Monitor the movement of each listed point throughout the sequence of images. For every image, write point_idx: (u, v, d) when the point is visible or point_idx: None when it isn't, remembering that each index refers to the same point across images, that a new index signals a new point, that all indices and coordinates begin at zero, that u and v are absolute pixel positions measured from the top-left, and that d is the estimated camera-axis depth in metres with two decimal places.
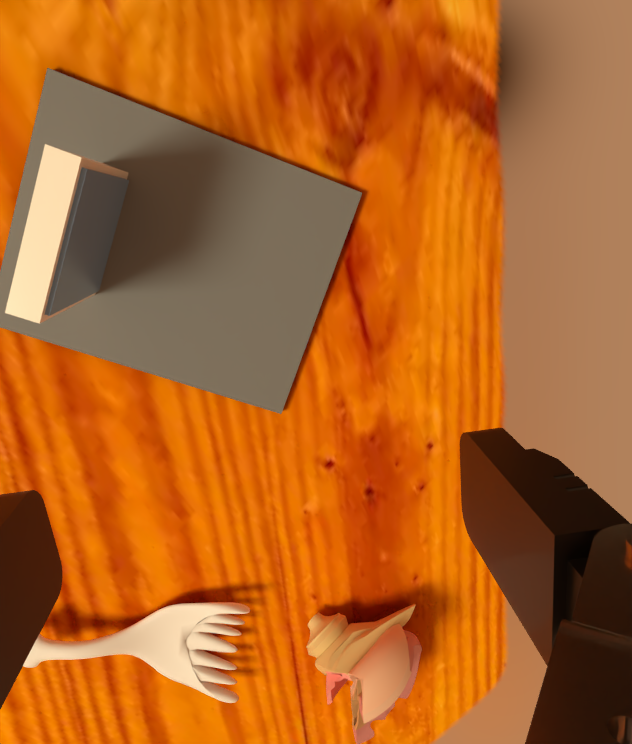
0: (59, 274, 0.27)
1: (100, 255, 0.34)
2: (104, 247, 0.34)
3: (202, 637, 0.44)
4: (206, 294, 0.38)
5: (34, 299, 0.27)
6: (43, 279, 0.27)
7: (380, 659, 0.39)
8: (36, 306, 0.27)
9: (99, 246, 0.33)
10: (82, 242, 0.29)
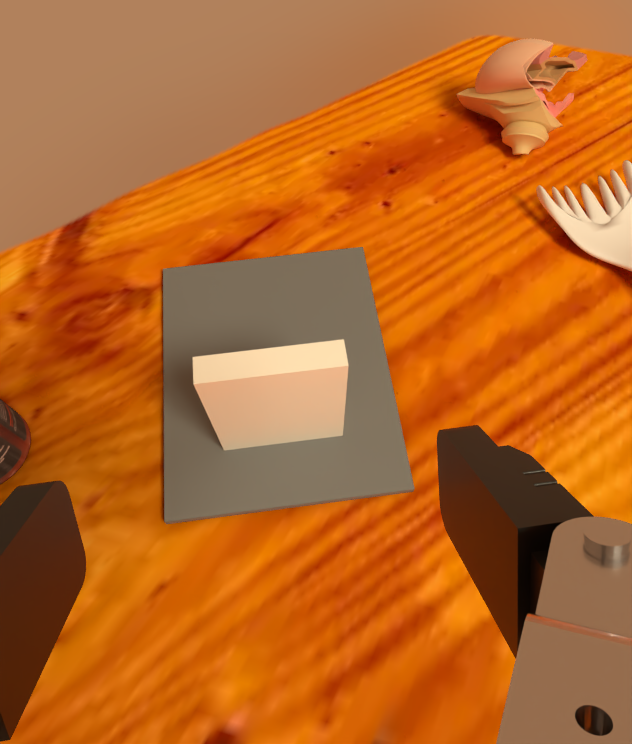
0: None
1: None
2: None
3: (591, 213, 0.46)
4: (294, 334, 0.42)
5: (325, 349, 0.30)
6: (304, 348, 0.30)
7: (500, 69, 0.46)
8: (330, 346, 0.30)
9: None
10: None
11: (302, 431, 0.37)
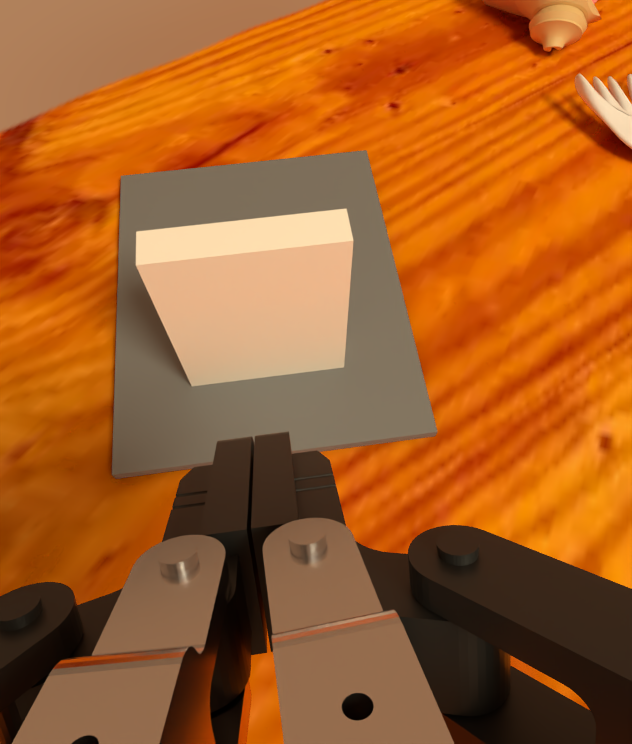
0: None
1: None
2: None
3: None
4: None
5: (320, 220, 0.21)
6: (292, 220, 0.21)
7: None
8: (327, 216, 0.22)
9: None
10: None
11: (292, 357, 0.28)
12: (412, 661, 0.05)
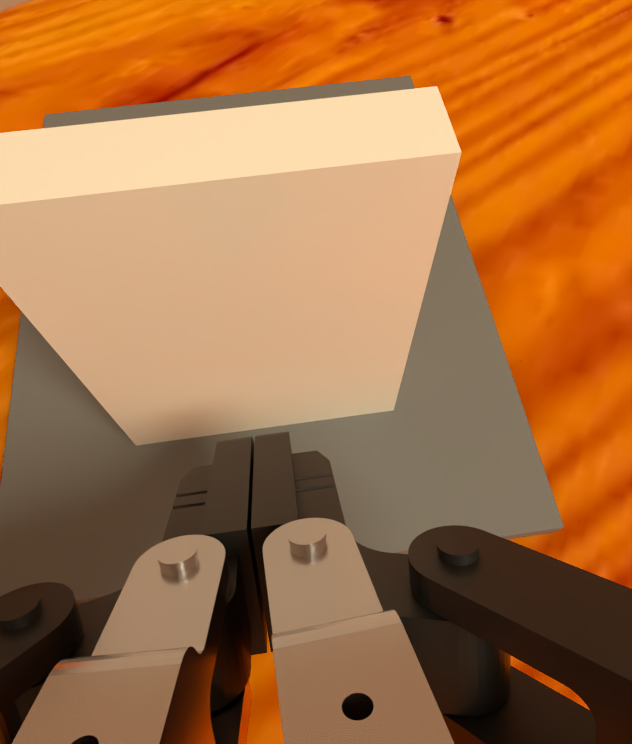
0: None
1: None
2: None
3: None
4: None
5: (380, 111, 0.09)
6: (315, 111, 0.09)
7: None
8: (396, 103, 0.09)
9: None
10: None
11: (307, 398, 0.16)
12: (412, 661, 0.05)
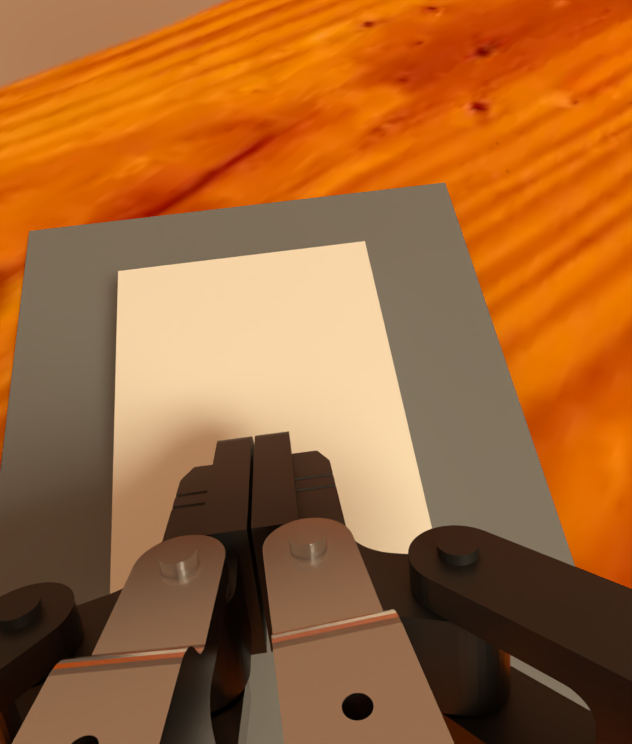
0: None
1: None
2: None
3: None
4: None
5: None
6: None
7: None
8: None
9: None
10: None
11: None
12: (412, 661, 0.05)
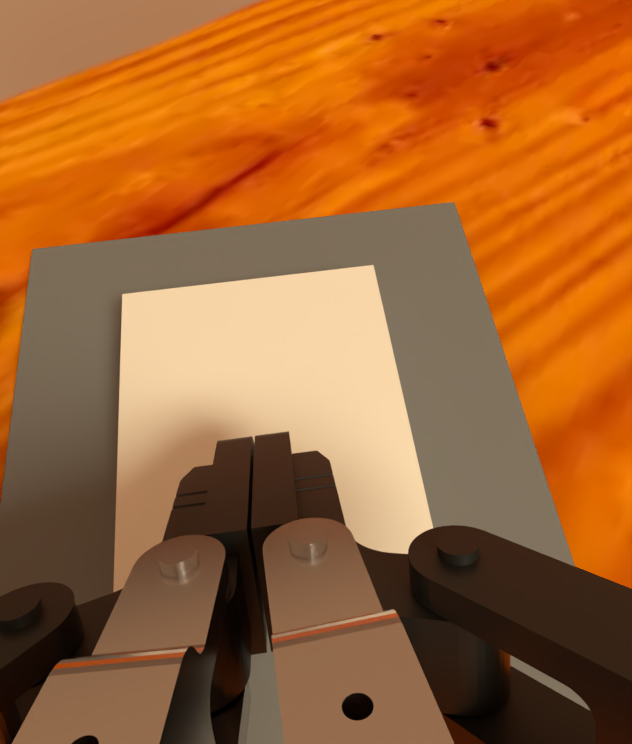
0: None
1: None
2: None
3: None
4: None
5: None
6: None
7: None
8: None
9: None
10: None
11: None
12: (413, 661, 0.05)
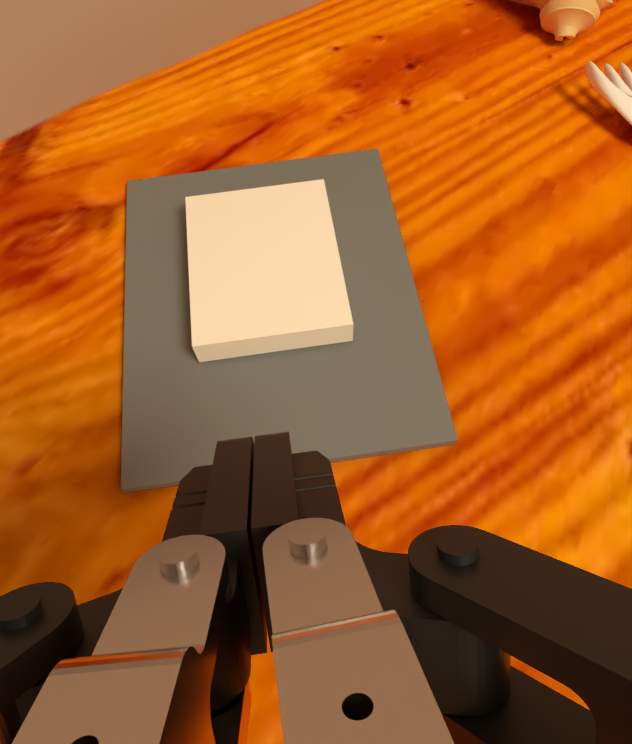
0: None
1: None
2: None
3: None
4: None
5: None
6: None
7: None
8: None
9: None
10: None
11: (295, 302, 0.29)
12: (412, 661, 0.05)
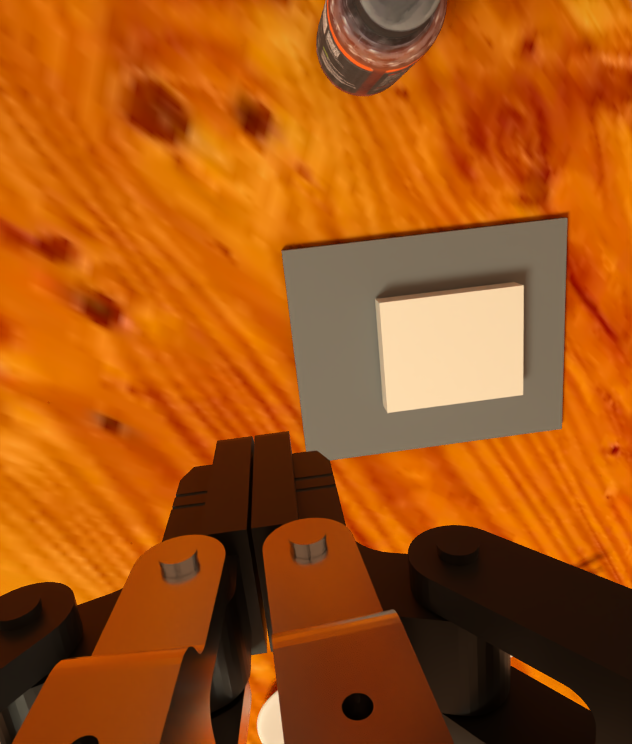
0: None
1: None
2: None
3: None
4: None
5: None
6: None
7: None
8: None
9: None
10: None
11: (409, 374, 0.40)
12: (412, 661, 0.05)
